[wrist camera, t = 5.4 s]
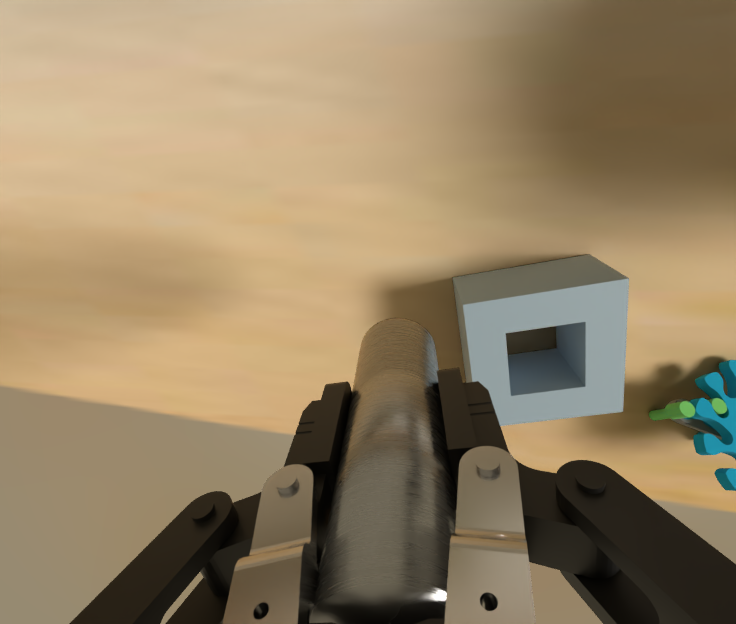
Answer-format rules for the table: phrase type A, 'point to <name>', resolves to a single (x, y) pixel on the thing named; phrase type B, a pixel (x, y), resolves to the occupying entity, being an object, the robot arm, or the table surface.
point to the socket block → (573, 338)
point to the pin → (390, 489)
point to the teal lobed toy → (710, 418)
